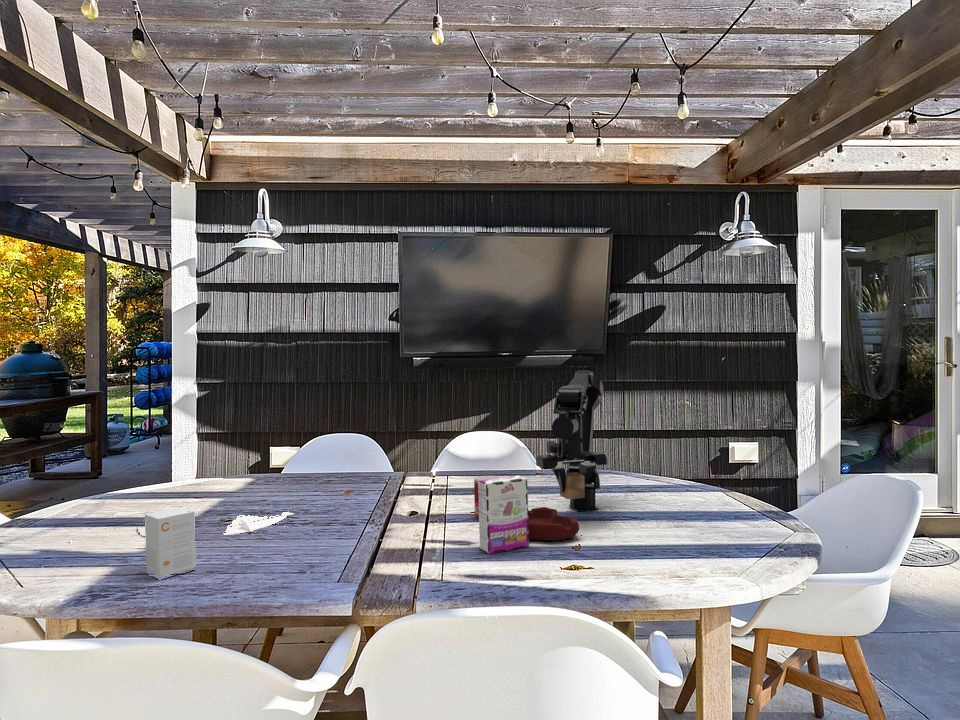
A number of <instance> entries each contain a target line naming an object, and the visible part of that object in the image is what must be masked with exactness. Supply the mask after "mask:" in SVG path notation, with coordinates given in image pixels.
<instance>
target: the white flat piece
mask: <svg viewBox="0 0 960 720" xmlns="http://www.w3.org/2000/svg"><path fill="white" fill-rule="evenodd" d="M293 514H294V515H295V513H294V512H289V511H288V512H283V513H282V514H281V516H279V515H276V516H278V517H276V516H270V517H269V519H267V518H268V517H267V516H264V517H258V516H253V515H252V516H250V515H248V516H245V515H239V516H237V518H236V520H233V521H232V524H230V525H228V526H227V529H226V531H225V532H226V533H223V534H224V535H234V534H240V533H245V532H249V531H250V532H252V531H254V530H257V529H260V528H264V527H267V526H270V525H272V524H275V523H277V522H279V521H281V520H283V519H284V518H286V517H287V516H289V515H293ZM240 516H242V517H240ZM271 517H273V518H271ZM263 519H264V520H263ZM258 520H259V521H258ZM254 521H255V522H254ZM230 526H232V527H230Z"/></svg>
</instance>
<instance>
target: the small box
mask: <svg viewBox="0 0 960 720" xmlns="http://www.w3.org/2000/svg"><path fill="white" fill-rule="evenodd" d="M144 520H145V534H146V538H145V560H146V561H145V562H146V572H147V571H148V572H150V573H152V574H154V575H156V576H159V577H161V576H165V575H170V574H173V573H177V572H181V571H185V570H188V569H191V568H194V567H196V568H197V549H196V548H197V547H196V546H197V543H196V542H197V541H195V511H192V510H189V509H186V507H176V508H172V509H166V510H161V511H156V512H151V513H146V514H144Z"/></svg>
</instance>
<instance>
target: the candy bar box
mask: <svg viewBox="0 0 960 720" xmlns="http://www.w3.org/2000/svg"><path fill="white" fill-rule="evenodd" d="M500 477H501V476H500ZM528 495H529V494H528V478H527V477H525V476H520V475H512V476H511V475H510V476H502V477H501V478H494V479H486V480H479V481H478V498H479V519H478V522H479V523H478V525H479V526H478V527H479V529H478V530H479V548H480V550H481V551H483V552H485V553H487V554H488V555H489V554H495V553H501V552H506V551H512V550H518V549H522V548H528V547H530V540H529V525H528V510H529V496H528Z"/></svg>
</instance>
